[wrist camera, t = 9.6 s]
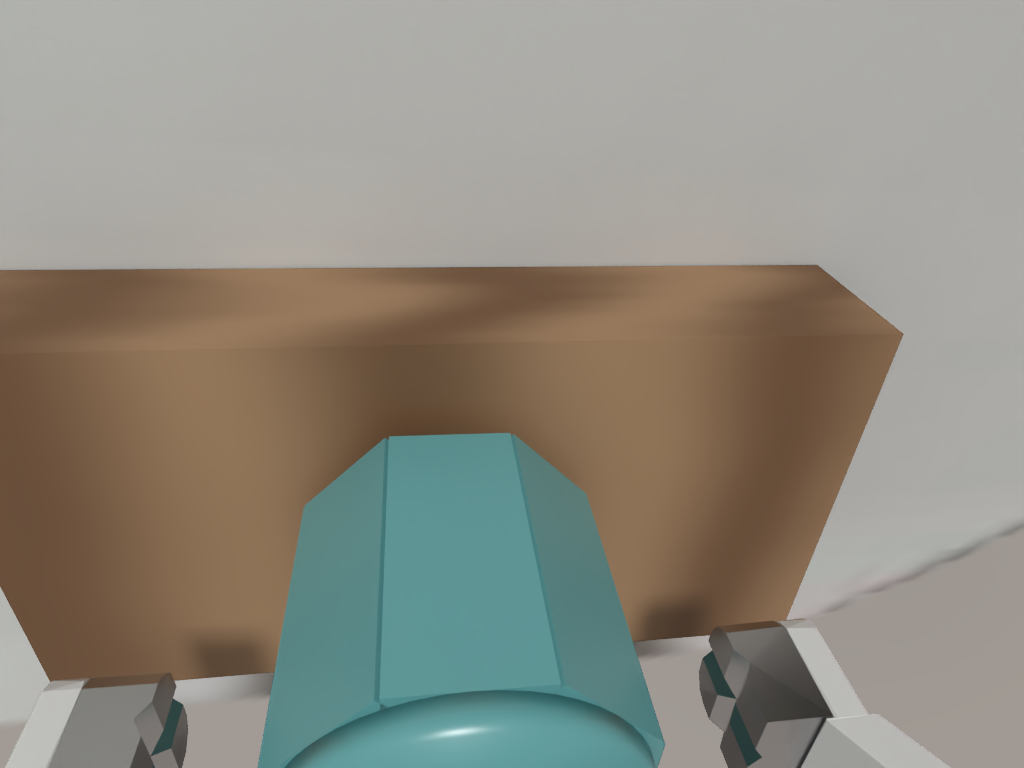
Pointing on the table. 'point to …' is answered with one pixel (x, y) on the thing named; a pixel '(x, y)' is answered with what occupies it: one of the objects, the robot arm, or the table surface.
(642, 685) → the cap
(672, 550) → the stud block
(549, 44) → the table surface
